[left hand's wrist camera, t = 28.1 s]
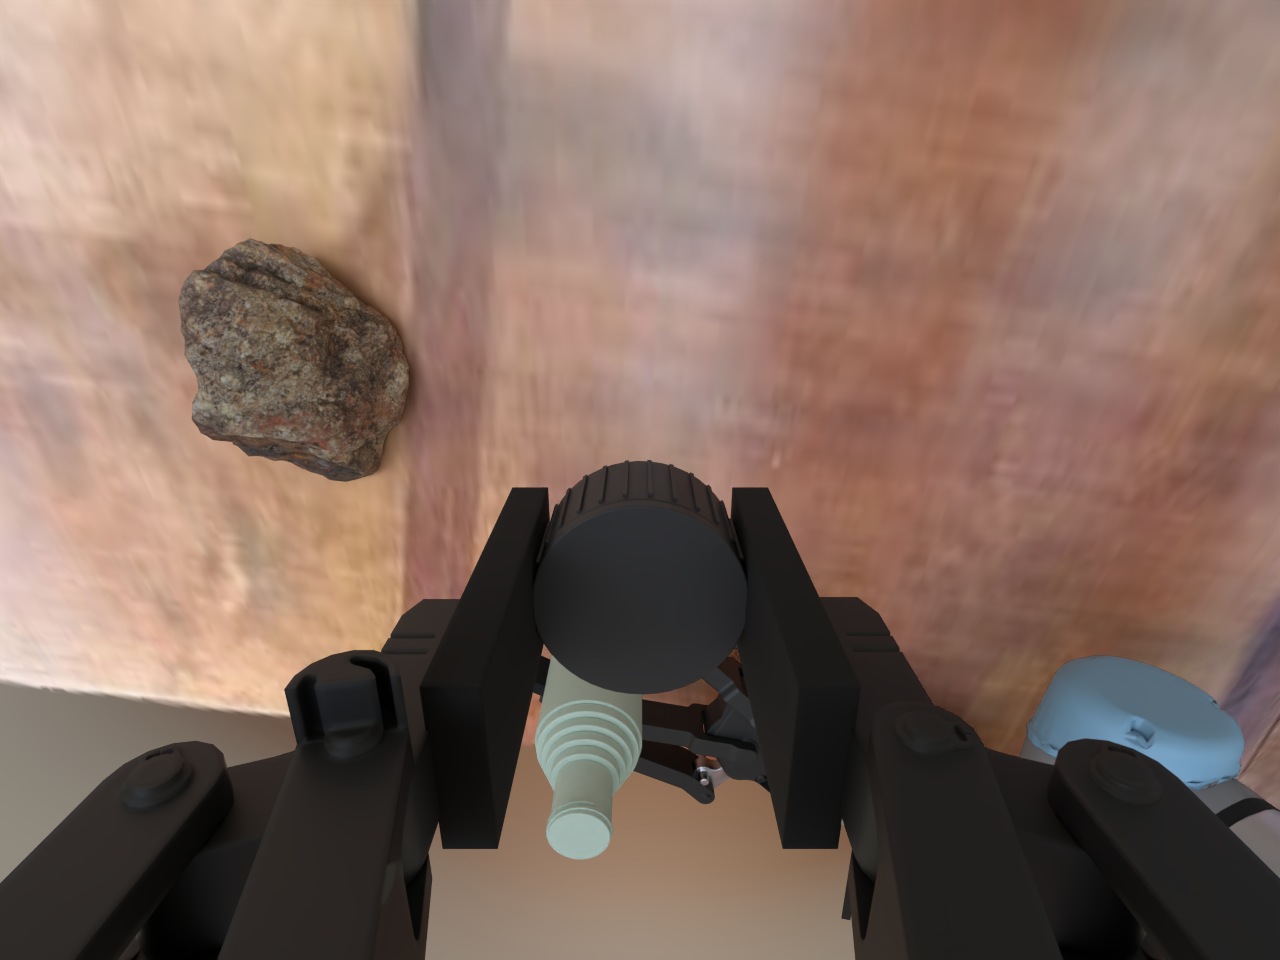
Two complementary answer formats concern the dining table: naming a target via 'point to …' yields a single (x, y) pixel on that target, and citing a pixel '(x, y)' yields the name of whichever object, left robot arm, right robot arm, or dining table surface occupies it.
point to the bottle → (585, 757)
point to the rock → (291, 361)
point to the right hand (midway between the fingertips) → (522, 620)
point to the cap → (640, 579)
